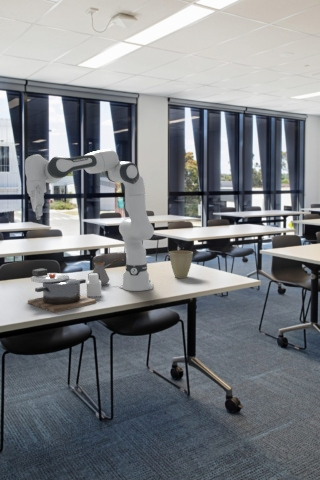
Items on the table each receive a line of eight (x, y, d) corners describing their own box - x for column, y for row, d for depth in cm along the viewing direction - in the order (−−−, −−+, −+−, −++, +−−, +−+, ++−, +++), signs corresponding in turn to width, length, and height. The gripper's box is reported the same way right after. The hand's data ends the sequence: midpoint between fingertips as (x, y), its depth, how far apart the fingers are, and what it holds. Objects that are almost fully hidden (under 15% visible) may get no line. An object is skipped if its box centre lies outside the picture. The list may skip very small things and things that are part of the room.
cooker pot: (27, 302, 224) (26, 284, 223) (74, 292, 244) (73, 275, 243) (47, 309, 212) (46, 290, 211) (95, 297, 232) (95, 280, 231)
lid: (21, 278, 235) (20, 271, 235) (52, 272, 249) (52, 266, 248) (44, 284, 220) (43, 277, 220) (76, 278, 234) (76, 272, 233)
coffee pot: (94, 287, 261) (93, 261, 259) (86, 283, 271) (86, 258, 269) (127, 283, 272) (127, 258, 270) (119, 279, 282) (119, 255, 280)
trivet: (27, 303, 228) (27, 300, 228) (68, 294, 245) (68, 291, 245) (55, 312, 211) (54, 309, 211) (96, 302, 228) (96, 299, 228)
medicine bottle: (88, 293, 247) (87, 271, 246) (101, 293, 248) (101, 271, 246) (87, 296, 240) (86, 274, 238) (100, 296, 241) (100, 274, 239)
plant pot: (193, 279, 281) (193, 254, 279) (169, 279, 282) (169, 254, 280) (192, 274, 296) (192, 250, 294) (169, 274, 296) (169, 250, 294)
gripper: (45, 183, 207) (48, 213, 206) (41, 193, 226) (44, 220, 225) (31, 183, 205) (34, 214, 204) (28, 193, 224) (31, 221, 223)
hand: (39, 217), depth 214 cm, fingers open, 8 cm apart
